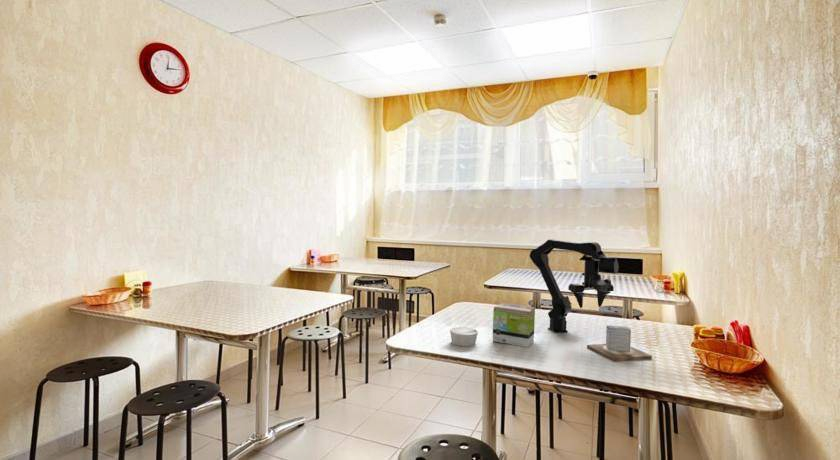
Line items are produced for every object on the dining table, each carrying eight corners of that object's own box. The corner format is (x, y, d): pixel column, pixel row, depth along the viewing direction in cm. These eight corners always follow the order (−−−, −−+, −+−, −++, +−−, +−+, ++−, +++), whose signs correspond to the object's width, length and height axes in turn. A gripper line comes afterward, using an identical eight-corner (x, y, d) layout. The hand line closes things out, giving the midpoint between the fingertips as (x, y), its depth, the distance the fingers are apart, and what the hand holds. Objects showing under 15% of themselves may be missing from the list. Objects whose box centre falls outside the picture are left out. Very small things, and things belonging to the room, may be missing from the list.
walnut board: (614, 361, 153) (614, 357, 153) (586, 347, 169) (587, 344, 168) (651, 358, 157) (651, 355, 157) (621, 345, 172) (621, 342, 172)
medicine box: (627, 348, 164) (628, 326, 164) (630, 352, 160) (631, 329, 159) (605, 347, 166) (606, 325, 165) (608, 350, 161) (608, 328, 161)
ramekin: (476, 348, 165) (476, 335, 165) (448, 346, 167) (448, 333, 167) (478, 340, 176) (478, 328, 176) (451, 338, 178) (451, 326, 178)
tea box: (491, 342, 174) (492, 306, 173) (499, 336, 183) (500, 302, 182) (528, 348, 167) (529, 310, 166) (534, 341, 176) (535, 306, 175)
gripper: (584, 274, 173) (582, 312, 173) (623, 273, 177) (621, 310, 178) (568, 270, 183) (567, 306, 184) (605, 270, 188) (604, 305, 188)
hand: (590, 307), depth 183 cm, fingers open, 9 cm apart
